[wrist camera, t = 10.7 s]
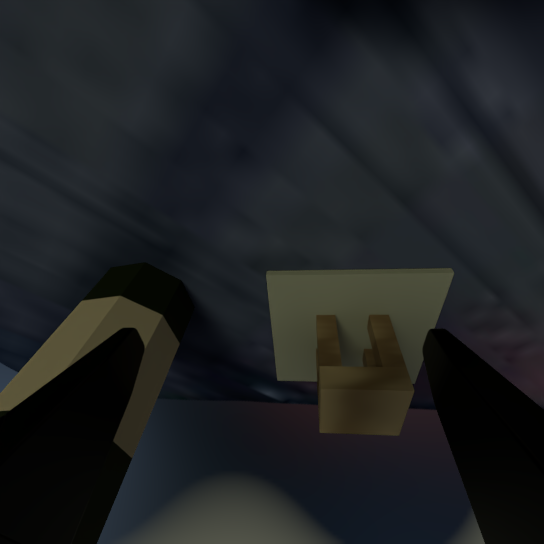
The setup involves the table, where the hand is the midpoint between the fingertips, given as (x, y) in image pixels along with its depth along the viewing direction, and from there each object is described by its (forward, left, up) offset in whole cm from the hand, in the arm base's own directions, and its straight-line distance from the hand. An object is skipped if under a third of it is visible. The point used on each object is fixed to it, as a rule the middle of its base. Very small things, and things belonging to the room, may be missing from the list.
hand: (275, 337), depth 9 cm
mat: (-5, +14, -13) cm, 20 cm away
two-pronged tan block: (-5, +14, -12) cm, 19 cm away
